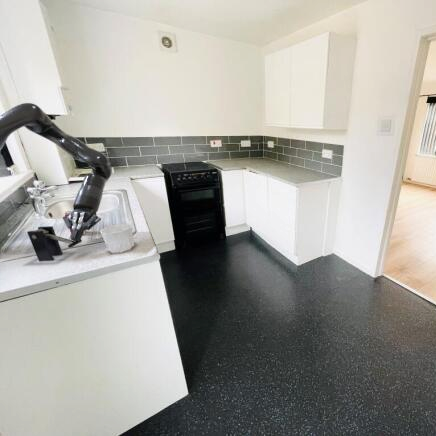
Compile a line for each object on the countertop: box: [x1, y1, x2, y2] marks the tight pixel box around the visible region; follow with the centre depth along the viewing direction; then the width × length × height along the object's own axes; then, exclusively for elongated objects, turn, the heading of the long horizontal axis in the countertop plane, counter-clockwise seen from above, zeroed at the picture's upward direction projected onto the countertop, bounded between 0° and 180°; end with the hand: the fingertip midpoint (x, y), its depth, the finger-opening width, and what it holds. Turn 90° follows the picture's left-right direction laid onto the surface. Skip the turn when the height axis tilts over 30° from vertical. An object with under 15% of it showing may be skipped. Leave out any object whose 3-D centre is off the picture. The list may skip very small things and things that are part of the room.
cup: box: [99, 223, 135, 254], centre depth 96 cm, size 10×10×10 cm
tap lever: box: [34, 228, 83, 249], centre depth 88 cm, size 13×5×2 cm, turn 93°
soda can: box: [64, 209, 87, 236], centre depth 111 cm, size 5×5×12 cm
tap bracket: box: [26, 225, 64, 262], centre depth 89 cm, size 10×8×13 cm
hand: (74, 240), depth 89 cm, fingers closed
